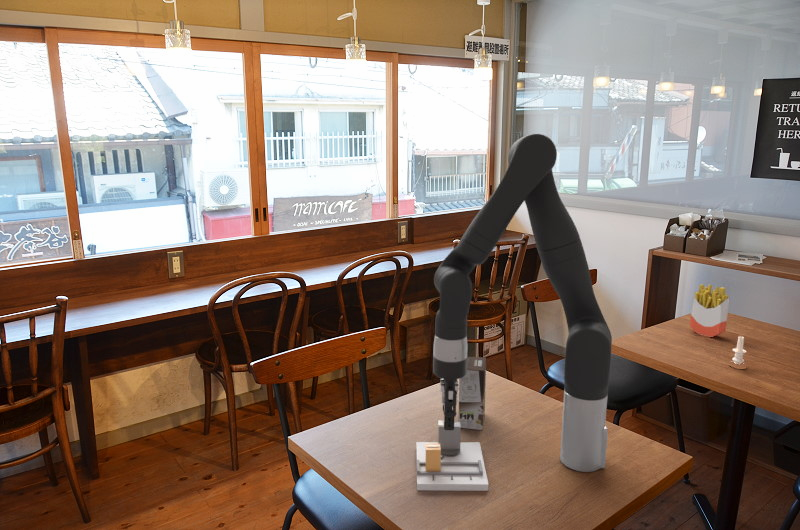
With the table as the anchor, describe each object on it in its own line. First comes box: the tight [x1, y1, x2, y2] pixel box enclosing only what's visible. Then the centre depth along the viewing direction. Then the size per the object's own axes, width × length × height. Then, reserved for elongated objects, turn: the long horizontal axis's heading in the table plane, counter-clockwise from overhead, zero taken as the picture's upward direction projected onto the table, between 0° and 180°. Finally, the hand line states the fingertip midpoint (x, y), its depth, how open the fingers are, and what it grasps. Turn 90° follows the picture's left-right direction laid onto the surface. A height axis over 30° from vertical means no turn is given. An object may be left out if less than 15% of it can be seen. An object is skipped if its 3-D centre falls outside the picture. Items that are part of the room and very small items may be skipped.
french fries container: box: [689, 284, 730, 338], centre depth 215 cm, size 5×11×18 cm, turn 33°
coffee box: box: [457, 356, 487, 431], centre depth 154 cm, size 9×6×16 cm
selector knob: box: [437, 419, 462, 456], centre depth 138 cm, size 5×5×7 cm
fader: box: [426, 444, 441, 472], centre depth 131 cm, size 3×3×5 cm
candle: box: [731, 335, 747, 365], centre depth 188 cm, size 5×5×10 cm
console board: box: [415, 441, 489, 492], centre depth 135 cm, size 15×17×2 cm
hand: (448, 420), depth 138 cm, fingers open, 8 cm apart
